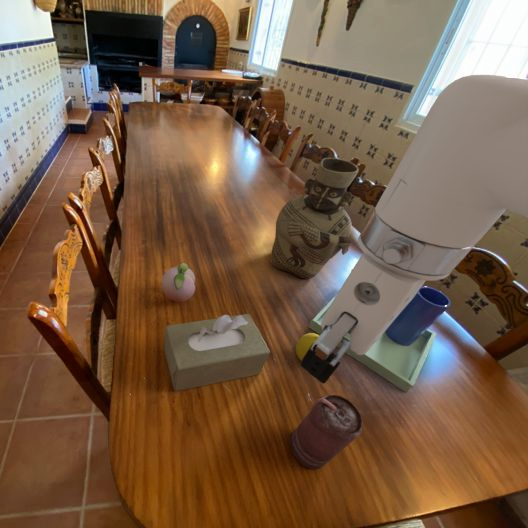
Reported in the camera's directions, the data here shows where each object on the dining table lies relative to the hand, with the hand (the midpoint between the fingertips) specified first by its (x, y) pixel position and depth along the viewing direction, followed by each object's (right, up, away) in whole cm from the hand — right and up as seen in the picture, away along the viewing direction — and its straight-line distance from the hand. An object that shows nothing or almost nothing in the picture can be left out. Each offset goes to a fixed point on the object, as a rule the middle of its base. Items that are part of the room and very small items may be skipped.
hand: (332, 351), depth 37 cm
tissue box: (-12, -10, +25) cm, 30 cm away
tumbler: (+33, -6, +34) cm, 48 cm away
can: (+3, -21, +14) cm, 25 cm away
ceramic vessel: (+18, +12, +55) cm, 59 cm away
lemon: (+8, -10, +27) cm, 30 cm away
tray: (+27, -6, +34) cm, 44 cm away
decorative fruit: (-20, +2, +39) cm, 43 cm away
